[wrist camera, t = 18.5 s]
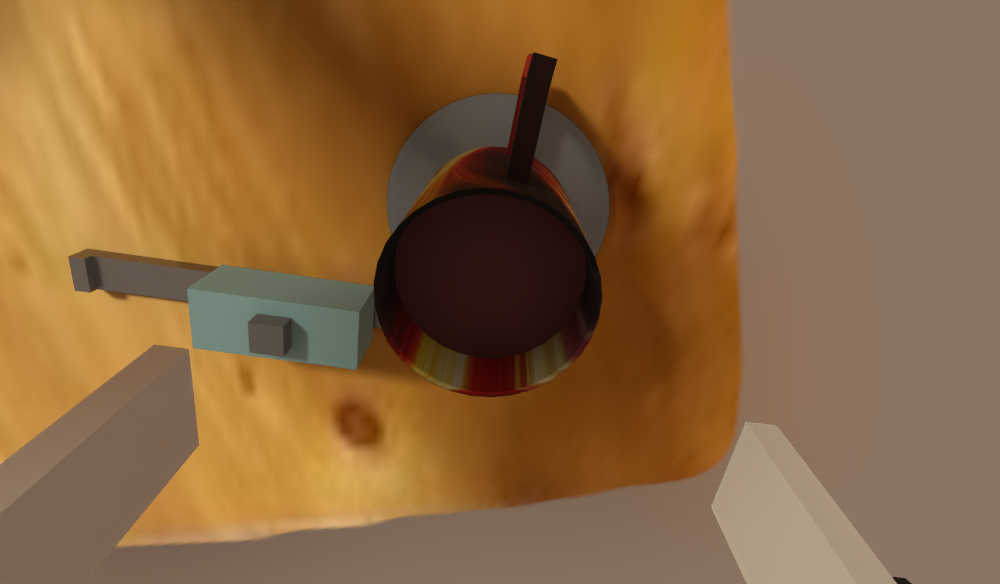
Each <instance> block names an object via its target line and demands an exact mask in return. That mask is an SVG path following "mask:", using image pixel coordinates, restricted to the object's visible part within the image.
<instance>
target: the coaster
mask: <svg viewBox="0 0 1000 584" xmlns="http://www.w3.org/2000/svg"><path fill="white" fill-rule="evenodd" d="M517 98H518V95H516V94H505V93H490V94H481V95H476V96H471V97H467V98H464V99H461V100H458V101H456V102H453V103H451V104H449V105H447V106H446V107H444V108H442V109H440V110H438V111H437V112H435V113H434V114H433V115H431V116H430V117H428V118H427V119H426V120H425V121H424V122H423V123H422V124H420V125H419V126H418V127H417V128H416V129H415V130H414V132H413V133H412V134H411V135H410V137H409V138H408V139H407V140H406V142H405V144H404V145H403V147H402V149H401V150H400V152H399V154H398V156H397V158H396V161H395V163H394V165H393V168H392V172H391V175H390V179H389V184H388V192H387V214H388V221H389V226H390V230H391V234H393V232H394V231H395V230H396V228H397V227H398V225H399V224H400V223H401V221H402V220H403V218H404V217H405V216H406V214H407V213H408V211H409V210H410V209H411V207H412V206H413V204H414V203H415V202H416V200H417V199H418V198H419V196H420V195H421V193H422V192H423V191H424V189H425V188H426V186H427V185H428V184H429V182H430V181H431V179H432V178H433V177H434V175H435V174H436V172H437V171H438V170H440V169H441V168H442V167H443V166H444V165H445V164H446V163H447V162H448V161H450V160H451V159H453V158H455V157H456V156H458V155H460V154H462V153H464V152H467V151H470V150H473V149H476V148H483V147H490V146H494V147H508V143H509V138H510V133H511V128H512V123H513V118H514V113H515V108H516V103H517ZM534 158H536V159H537V160H538V161H540V162H541V163H542V164H544V165H545V166H546V167H547V168H548V169H549V170H550V171H551V172H552V173H553V175H554V176H555V177H556V178H557V179H558V181H559V183H560V185H561V187H562V188H563V190H564V192H565V194H566V196H567V198H568V201H569V203H570V205H571V207H572V209H573V211H574V213H575V216H576V218H577V220H578V222H579V224H580V226H581V228H582V231H583V233H584V235H585V237H586V239H587V241H588V243H589V246H590V248H591V250H592V252H593V254H594V256H595V257H596V255H597V253H598V251H599V249H600V246H601V244H602V242H603V239H604V236H605V232H606V229H607V224H608V218H609V190H608V183H607V179H606V175H605V171H604V169H603V166H602V163H601V161H600V158H599V156H598V154H597V153H596V151H595V149H594V147H593V146H592V144H591V143H590V141H589V140H588V139H587V137H586V136H585V135H584V133H583V132H582V131H581V130H580V129H579V128H578V127H577V126H576V125H575V124H574V123H573V122H572V121H571V120H570V119H568V118H567V117H566V116H564V115H563V114H562V113H560V112H559V111H557V110H556V109H554V108H552V107H550V106H548V105H547V104H546V106H545V110H544V115H543V119H542V124H541V128H540V133H539V137H538V142H537V146H536V151H535V155H534Z"/></svg>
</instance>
